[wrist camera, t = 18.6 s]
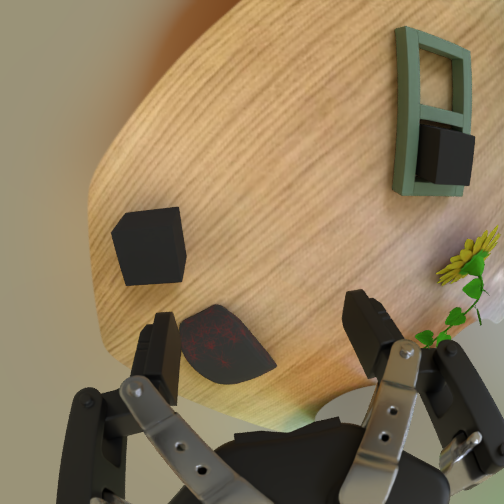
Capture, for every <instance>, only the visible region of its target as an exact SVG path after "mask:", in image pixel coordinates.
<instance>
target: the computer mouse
mask: <svg viewBox="0 0 504 504" xmlns="http://www.w3.org/2000/svg"><path fill="white" fill-rule="evenodd" d="M179 334H180V338H181V350H182V352H183V354H184V356H185V358H186V360H187V361H188V362H189V364H190V365H191V366H192V367H193V368H194V369H195V370H196V371H197V372H198V373H200V374H201V375H202V376H204V377H205V378H207V379H209V380H211V381H213V382H215V383H218V384H237V383H241V382H244V381H248V380H251V379H253V378H256V377H259V376H261V375H263V374H265V373H267V372H269V371H271V370H273V369H274V368H276V367H277V365H276V363H275V362H274V360H273V359H272V358H271V356H270V355H269V354H268V353H267V351H266V350H265V349H264V348H263V346H262V345H261V344H260V343H259V342H258V340H257V339H256V338H255V337H254V336H253V335H252V333H251V332H250V331H249V330H248V329H247V327H246V326H245V325H244V324H243V323H242V322H241V321H240V319H238V318H237V317H236V316H235V315H234V314H233V313H231V312H230V311H228V310H227V309H226V308H224V307H222V306H220V305H218V304H217V305H213V306H211V307H209V308H207V309H206V310H204V311H202V312H200V313H198V314H196V315H194V316H192V317H190V318H187V319H185V320H184V321H183V322H182V323H181V324H180V327H179Z"/></svg>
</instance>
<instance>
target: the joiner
mask: <svg viewBox="0 0 504 504" xmlns="http://www.w3.org/2000/svg"><path fill="white" fill-rule="evenodd" d="M395 36H396V50H397V74H398V113H397V138H396V153H395V165H394V176H393V185H392V190H393V191H395V192H397V193H398V194H400V195H401V196H460V197H462V196H463V190H464V186H460V185H438V184H433V183H432V182H430V181H428V180H426V179H424V178H422V177H415V173H416V163H417V153H418V140H419V122H420V119H424V120H429V121H434V122H439V123H444V124H449V125H452V129H451V130H455V131H458V132H462V133H466V134H469V135H470V133H471V115H472V72H471V55H470V51H469V50H466V49H464V48H462V47H460V46H458V45H456V44H453V43H451V42H449V41H446V40H444V39H441V38H439V37H436V36H434V35H431V34H428V33H425V32H423V31H420V30H416V29H413V28H410V27H407V26H403V27H400V28H396V29H395ZM419 48H420V49H424V50H427V51H430V52H433V53H435V54H438V55H441V56H444V57H446V58H449V59H452V79H453V105H452V111H448V110H444V109H440V108H435V107H431V106H427V105H422V104H420V62H419Z"/></svg>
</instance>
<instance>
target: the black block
mask: <svg viewBox="0 0 504 504" xmlns="http://www.w3.org/2000/svg"><path fill="white" fill-rule="evenodd" d="M111 235H112V239H113V243H114V246H115V250H116V254H117V257H118V261H119V264H120V268H121V271H122V275H123V278H124V281H125V284H126V286H133V285H148V284H163V283H176V282H182V280H183V274H184V268H185V263H186V257H187V256H186V250H185V244H184V238H183V231H182V225H181V218H180V211H179V207H172V208H163V209H154V210H146V211H138V212H130V213H125V214H124V216H123V217H122V218H121V220H120V221H119V222H118V224H117V225H116V226H115V228H114V229H113V230H112V232H111Z"/></svg>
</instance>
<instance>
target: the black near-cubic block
mask: <svg viewBox="0 0 504 504" xmlns="http://www.w3.org/2000/svg"><path fill="white" fill-rule="evenodd" d="M474 145H475V136H472V135H469V134H466V133H462V132H458V131H455V130H451V129H447V128H441V127H436V126H430V125H424V124H419V140H418V153H417V163H416V173H415V174H416V175H418V176H420V177H422V178H424V179H426V180H428V181H430V182H432V183H433V184H438V185H460V186H469V185H470V178H471V171H472V164H473V155H474Z"/></svg>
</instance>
